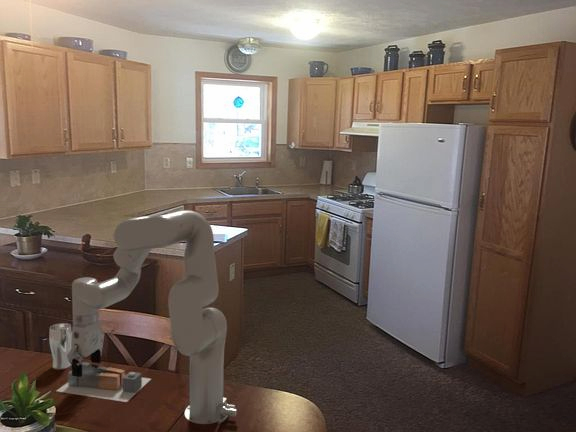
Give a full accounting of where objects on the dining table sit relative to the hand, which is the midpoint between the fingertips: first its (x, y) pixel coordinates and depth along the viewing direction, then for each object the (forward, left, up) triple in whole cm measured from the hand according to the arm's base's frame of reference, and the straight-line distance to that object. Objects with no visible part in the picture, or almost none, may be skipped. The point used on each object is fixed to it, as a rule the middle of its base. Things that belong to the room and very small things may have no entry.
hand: (86, 368), depth 156 cm
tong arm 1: (-4, +2, -4) cm, 6 cm away
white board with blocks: (-6, 0, -6) cm, 8 cm away
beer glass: (+15, -8, -6) cm, 18 cm away
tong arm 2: (-4, -2, -4) cm, 6 cm away
